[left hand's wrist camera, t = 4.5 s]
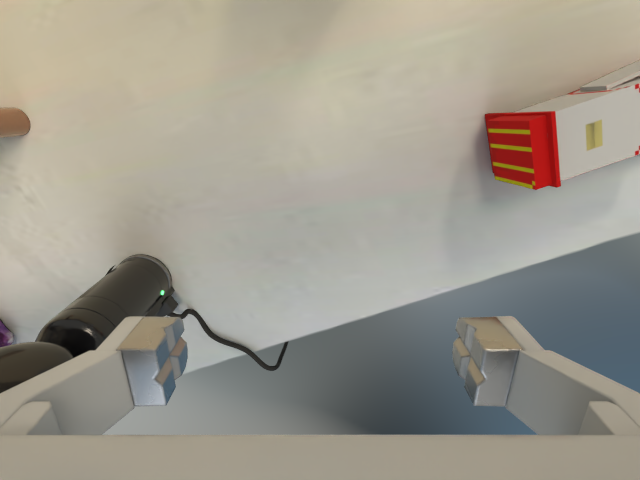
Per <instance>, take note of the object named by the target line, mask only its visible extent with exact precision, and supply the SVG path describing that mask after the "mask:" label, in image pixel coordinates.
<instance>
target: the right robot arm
mask: <svg viewBox="0 0 640 480" xmlns="http://www.w3.org/2000/svg"><path fill="white" fill-rule="evenodd" d="M114 266H115V265H114ZM114 266H113V267H114ZM113 267H112V268H111V269H110V270H109V271H108V273H107V274H106V276H105V277H103V278H102V279H101V280H100V281H98V282H97V283H96V284H95V285H94V286H92V287H91V288H90V289H89V290H87V291H86V292H85V293H84V294H82V295H81V296H80V297H79V298H77V299H76V300H75V301H74V302H72V303H71V304H70V305H69V306H68V307H66V308H65V309H64V310H63V311H61V312H60V313H59V314H58V315H56V316H55V317H54V318H53V319H51V320H50V321H49V322H48V323H47V324H46V325H45V326H44V327H43V328H42V330H41V331H40V333H39V334H38V336H37V339H36V341H35V342H26V343H19V344H13V345H8V346H4V347H0V393H2V392H4V391H6V390H8V389H10V388H13V387H15V386H17V385H19V384H21V383H23V382H25V381H27V380H29V379H31V378H33V377H35V376H38V375H40V374H42V373H44V372H46V371H48V370H50V369H52V368H54V367H56V366H58V365H60V364H63V363H65V362H67V361H69V360H71V359H73V358H75V357H77V356H79V355H81V354H83V353H85V352H88V351H94V350H96V349H97V348H98V347H99V346H100V345H101V344H102V343H103V341H104V340H105V339H106V338H107V337H108V336H109V335H110V334H111V333H112V332H113V331H114V329H115V328H116V327H117V326H118V325H119V324H120V323H121V322H122V321H123V320H124V319H125V318H126V317H130V316H145V317H147V316H148V317H164V316H166V315H167V316H170V317H180V318H181V319H183V318H185V317H186V316H187V315H188V314H192V315H194V316H195V317H196V318H197V320H198V321H199V323H200V324H201V326H202V328H203V329H204V331H205V332H206V333H207V334H208V335H209V336H210V337H211V338H212V339H214V340H215V341H217V342H219V343H222V344H224V345H227V346H231V347H234V348H237V349H239V350H241V351H243V352H245V353H247V354H248V355H250V356H251V357H252V358H253V359H254V360H255V361H256V362H257V363H258V364H259V365H260V366H261V367H263V368H264V369H266V370H270V371H274V370H276V369H278V368H279V366H280V364H281V362H282V359H283V356H284V353H285V351H286V348H287V345H288V342H289V341H286V342H285V343H284V346H283V348H282V351H281V353H280V356H279V358H278V361H277V363H276V365H275V366H268V365H266V364H265V363H264V362H263V361H262V360H261V359H260V358H258V357H257V356H256V355H255V354H254V353H253V352H252V351H251V350H249V349H247V348H246V347H244V346H241V345H239V344H236V343H233V342H230V341H227V340H224V339H222V338H220V337H218V336H216V335H215V334H213V333H212V332H211V331H210V329H209V328H208V327H207V325H206V323H205V322H204V320H203V319H202V318H201V316H200V315H199V314H198V313H197V312H196V311H194V310H191V309H187V310H185V311H184V312H183V314H175V313H173V311H174V310H175V308H176V307H177V305H178V303H177V302H176V301H175V300H174V298H173V297H172V296H171V295H172V293H173V292H174V289H173V288H172V286H171V285H172V280H171V275H170V273H169V271H168V269H167V268H166V267H165V265H164V264H163V263H161V262H160V261H159V260H157V259H156V258H154V257H151V256H148V255H133V256H130V257H128V258H126V259H125V260H124V261H122V262H121V263H120V264H119V265H118V266H117V267H116V268H115V269H113ZM112 269H113V270H112ZM111 270H112V271H111Z"/></svg>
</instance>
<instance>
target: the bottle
mask: <svg viewBox="0 0 640 480" xmlns="http://www.w3.org/2000/svg"><path fill="white" fill-rule="evenodd" d="M29 130H30V121H29V119H28V117H27V116H26V114H25V113H24V112H23V111H21V110H19V109H17V108H0V138H4V137H13V136H22V135H25V134H27V133H28V131H29Z"/></svg>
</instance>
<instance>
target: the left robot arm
mask: <svg viewBox="0 0 640 480" xmlns="http://www.w3.org/2000/svg"><path fill="white" fill-rule="evenodd" d="M183 331H184V325H183V320H182V319H181V318H180V317H148V316H147V317H145V316H130V317H126V318H125V319H124V320H123V321H122V322H121V323H120V324H119V325H118V326H117V327H116V328H115V329H114V331H113V332H112V333H111V334H110V335H109V336H108V337H107V338H106V339H105V340H104V341H103V343H102V344H101V345H100V346H99V347H98V348H97V349H96V350H94V351H88V352H85V353H83V354H81V355H79V356H77V357H75V358H73V359H71V360H69V361H67V362H65V363H63V364H60V365H58V366H56V367H54V368H52V369H50V370H48V371H46V372H44V373H42V374H40V375H38V376H35V377H33V378H31V379H29V380H27V381H25V382H23V383H21V384H19V385H17V386H15V387H13V388H10V389H8V390H6V391H4V392H2V393H0V480H640V393H638V392H635V391H633V390H631V389H629V388H627V387H625V386H623V385H621V384H619V383H617V382H615V381H613V380H611V379H609V378H606V377H604V376H602V375H600V374H598V373H596V372H594V371H592V370H590V369H588V368H586V367H584V366H582V365H579V364H577V363H575V362H573V361H571V360H569V359H567V358H565V357H563V356H561V355H559V354H556V353H555V352H552V351H546V350H544V349H543V348H542V347H541V346H540V345H539V344H538V343H537V341H536V340H535V339H534V338H533V337H532V336H531V335H530V334H529V333H528V332H527V331H526V329H525V328H524V327H523V326H522V325H521V324H520V323H519V322H518V321H517V320H516V319H515V318H514V317H511V316H501V317H468V318H459V319H458V321H457V325H456V331H457V333H458V335H459V338H457V340H456V341H455V342H454V343H453V351H452V354H453V363H454V366H455V369H456V371H457V373H458V375H459V376H460V377H462V378H463V379H465V386H464V387H465V389H466V391H467V393H468V395H469V397H470V399H471V401H472V403H473V405H475V406H506V409H508V410H509V411H510V412H511V413H513V414H514V415H515V416H516V417H517V418H519V419H520V420H521V421H522V422H523V423H525V424H526V425H527V426H528V427H530V428H531V429H532V430H533V431H534V432H536V433H537V434H538V435H102V434H103V433H105V432H106V431H107V430H108V429H109V428H111V427H112V426H113V425H114V424H115V423H117V422H118V421H119V420H120V419H122V418H123V417H124V416H125V415H126V414H128V413H129V412H130V411H131V410H133V409H134V406H164V405H167V403H168V401H169V399H170V397H171V395H172V393H173V391H174V389H175V387H176V386H175V379H177V378H178V377H180V376H181V375H182V373H183V371H184V369H185V367H186V362H187V352H188V349H187V343H186V342H185V341H184V340H183V338H182V337H181V335H182V333H183Z"/></svg>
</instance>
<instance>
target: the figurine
mask: <svg viewBox="0 0 640 480" xmlns="http://www.w3.org/2000/svg"><path fill="white" fill-rule="evenodd" d="M13 341H14V335H13V333H12V332H10V331H9V330H8V329H7V328H6V327H5V326H4V324H3V323H2V322H1V320H0V347H4V346H8V345H11V343H12V342H13Z"/></svg>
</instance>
